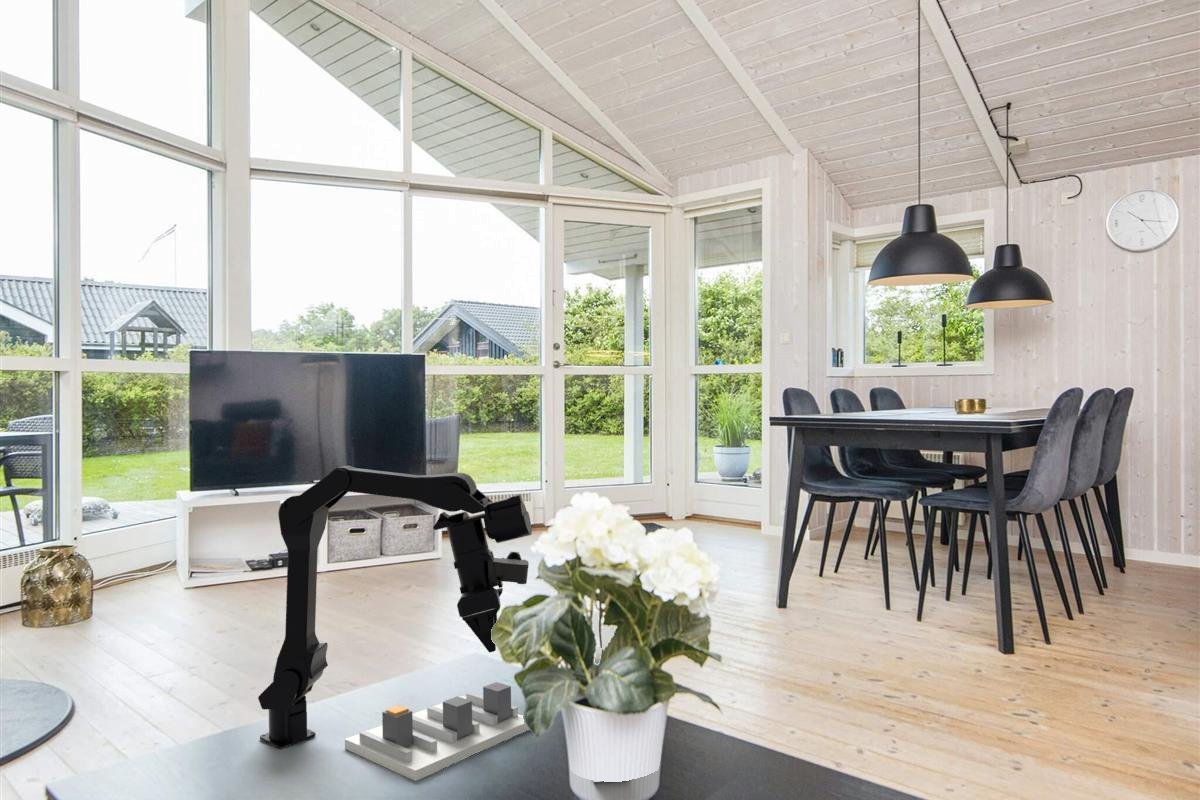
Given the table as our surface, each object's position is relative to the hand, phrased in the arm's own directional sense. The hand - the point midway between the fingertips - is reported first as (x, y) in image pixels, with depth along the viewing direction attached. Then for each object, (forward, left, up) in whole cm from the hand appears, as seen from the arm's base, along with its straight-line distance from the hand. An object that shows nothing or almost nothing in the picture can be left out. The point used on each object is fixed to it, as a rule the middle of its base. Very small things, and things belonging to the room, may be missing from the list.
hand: (493, 643), depth 131 cm
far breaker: (-3, +3, -13) cm, 14 cm away
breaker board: (-7, -5, -15) cm, 17 cm away
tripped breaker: (-7, -14, -13) cm, 20 cm away
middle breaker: (-3, -5, -13) cm, 15 cm away
